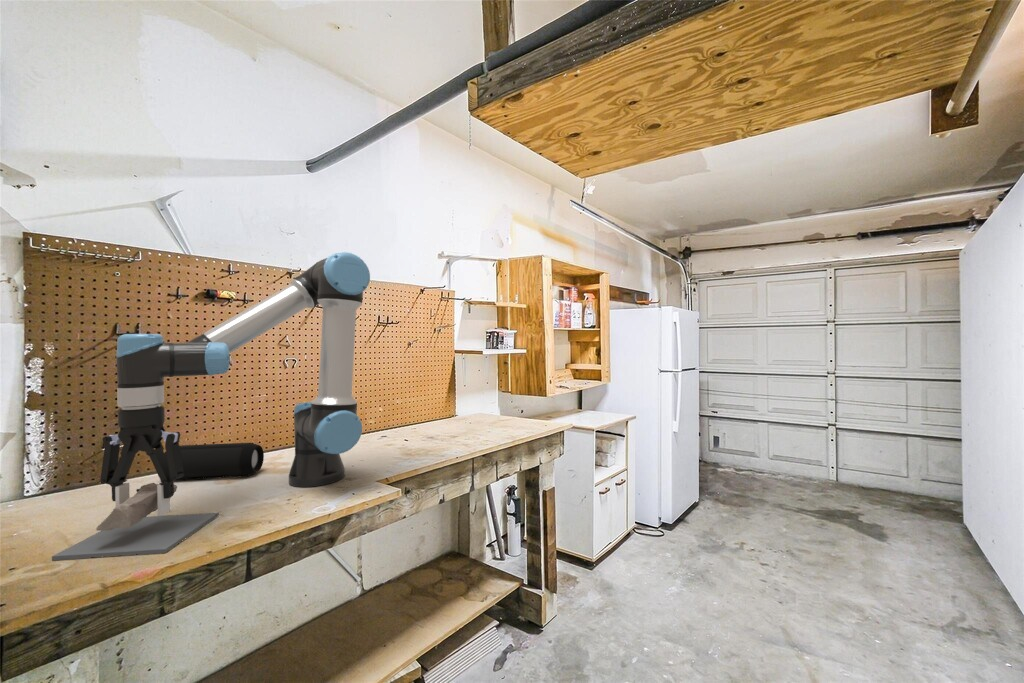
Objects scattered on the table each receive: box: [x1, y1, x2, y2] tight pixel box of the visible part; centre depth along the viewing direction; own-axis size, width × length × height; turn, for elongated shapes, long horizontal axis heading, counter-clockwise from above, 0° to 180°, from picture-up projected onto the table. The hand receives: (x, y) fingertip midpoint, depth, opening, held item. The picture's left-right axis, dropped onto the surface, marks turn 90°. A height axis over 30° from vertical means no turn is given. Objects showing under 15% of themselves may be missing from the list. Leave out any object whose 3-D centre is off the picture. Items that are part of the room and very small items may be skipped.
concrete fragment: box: [95, 482, 178, 532], centre depth 91 cm, size 7×14×6 cm, turn 173°
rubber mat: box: [51, 512, 220, 562], centre depth 92 cm, size 20×18×1 cm
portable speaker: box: [164, 442, 265, 481], centre depth 132 cm, size 26×10×10 cm, turn 96°
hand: (143, 514), depth 92 cm, fingers closed on concrete fragment, 7 cm apart
